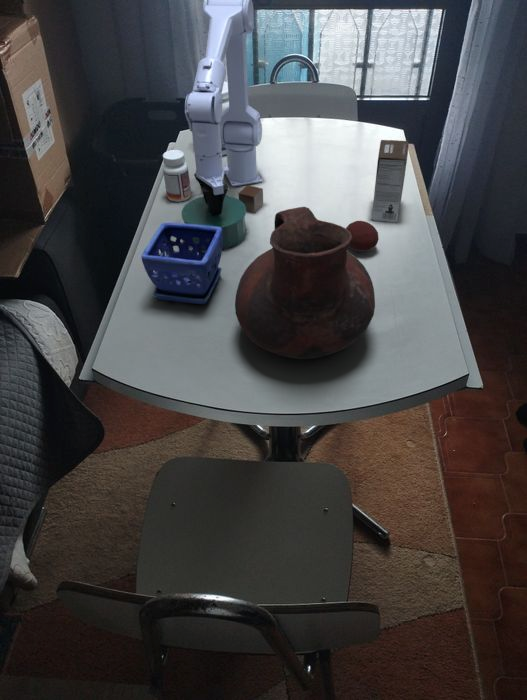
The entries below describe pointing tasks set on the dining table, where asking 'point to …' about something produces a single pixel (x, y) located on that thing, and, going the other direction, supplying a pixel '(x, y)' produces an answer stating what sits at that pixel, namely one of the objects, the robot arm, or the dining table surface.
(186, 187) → the pill bottle
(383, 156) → the coffee box
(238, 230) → the tin
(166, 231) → the flower pot
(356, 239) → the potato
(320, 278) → the jug
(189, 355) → the dining table surface
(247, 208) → the block
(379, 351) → the dining table surface
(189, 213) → the tin lid
